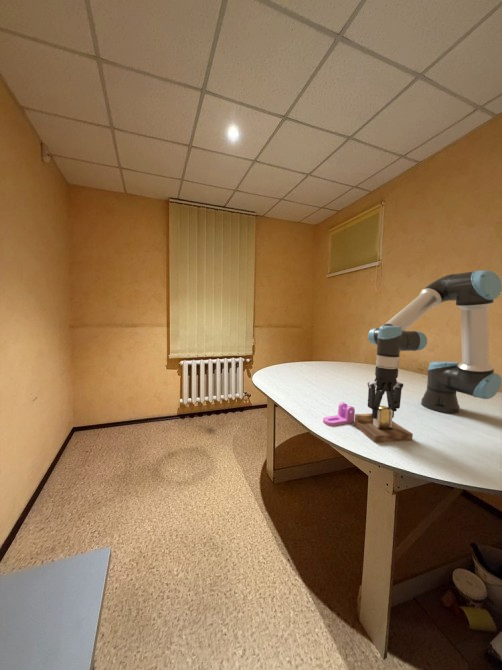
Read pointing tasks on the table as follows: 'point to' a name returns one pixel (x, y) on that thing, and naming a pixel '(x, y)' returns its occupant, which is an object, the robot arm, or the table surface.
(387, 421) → the cylinder
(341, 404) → the bracket
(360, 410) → the table surface
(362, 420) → the frame
